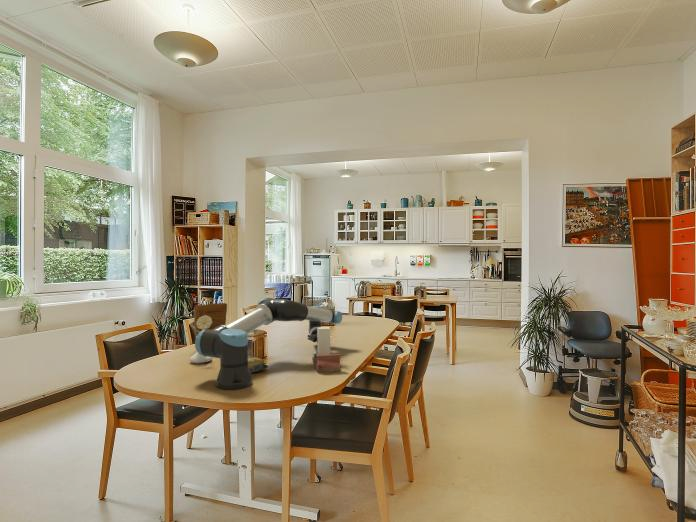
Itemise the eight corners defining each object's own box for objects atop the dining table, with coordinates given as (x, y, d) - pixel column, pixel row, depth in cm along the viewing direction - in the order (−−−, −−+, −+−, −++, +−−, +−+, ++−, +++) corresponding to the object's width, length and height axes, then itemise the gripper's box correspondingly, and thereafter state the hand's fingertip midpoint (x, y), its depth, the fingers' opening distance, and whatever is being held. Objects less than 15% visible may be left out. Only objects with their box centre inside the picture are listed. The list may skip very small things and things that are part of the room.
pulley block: (253, 347, 221) (269, 360, 194) (254, 358, 222) (270, 371, 195) (226, 354, 215) (239, 368, 188) (228, 365, 215) (241, 380, 189)
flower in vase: (184, 363, 213) (184, 316, 213) (199, 358, 224) (198, 313, 224) (205, 365, 209) (205, 317, 209) (219, 360, 220) (218, 314, 220)
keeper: (317, 357, 215) (317, 327, 215) (328, 356, 216) (328, 326, 216) (318, 360, 209) (318, 329, 209) (330, 359, 210) (330, 328, 210)
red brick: (312, 360, 218) (312, 345, 218) (332, 359, 220) (332, 344, 220) (317, 372, 194) (317, 356, 194) (340, 371, 196) (340, 354, 196)
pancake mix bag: (228, 349, 245) (227, 303, 245) (194, 352, 239) (193, 304, 238) (227, 347, 252) (226, 302, 251) (194, 350, 245) (193, 303, 245)
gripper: (327, 340, 244) (334, 348, 221) (306, 341, 242) (310, 350, 219) (327, 327, 244) (333, 335, 221) (306, 328, 242) (309, 336, 219)
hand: (322, 342), depth 220 cm, fingers closed
